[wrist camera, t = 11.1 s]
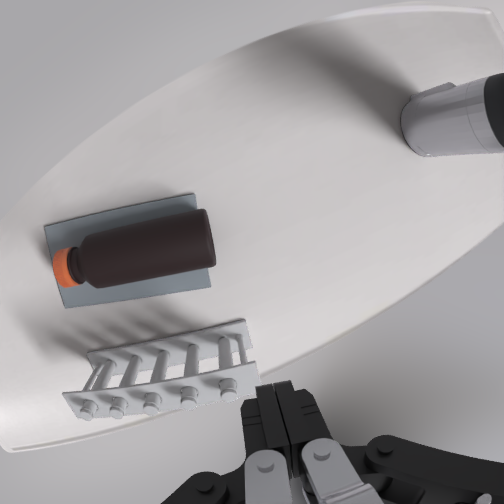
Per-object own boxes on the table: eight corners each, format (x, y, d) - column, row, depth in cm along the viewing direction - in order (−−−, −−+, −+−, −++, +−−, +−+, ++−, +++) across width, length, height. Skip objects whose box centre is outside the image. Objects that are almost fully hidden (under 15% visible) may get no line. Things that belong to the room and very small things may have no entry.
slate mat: (194, 193, 36) (194, 193, 36) (210, 285, 39) (211, 287, 38) (46, 226, 34) (44, 227, 34) (66, 307, 37) (65, 308, 36)
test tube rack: (99, 375, 40) (72, 429, 27) (87, 351, 39) (54, 403, 26) (252, 345, 42) (268, 403, 29) (245, 318, 41) (259, 373, 28)
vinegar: (203, 204, 31) (44, 243, 29) (216, 269, 31) (55, 299, 29) (207, 210, 37) (69, 242, 36) (217, 263, 38) (79, 290, 36)
